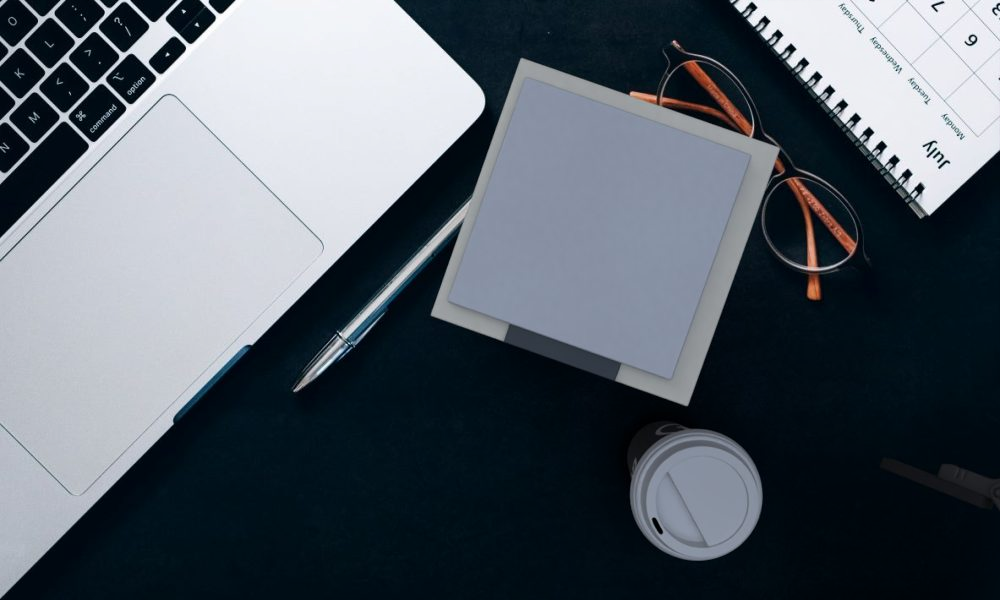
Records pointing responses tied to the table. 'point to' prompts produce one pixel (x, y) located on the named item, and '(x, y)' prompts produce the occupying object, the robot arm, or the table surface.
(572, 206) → the scale
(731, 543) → the coffee cup
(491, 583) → the table surface
